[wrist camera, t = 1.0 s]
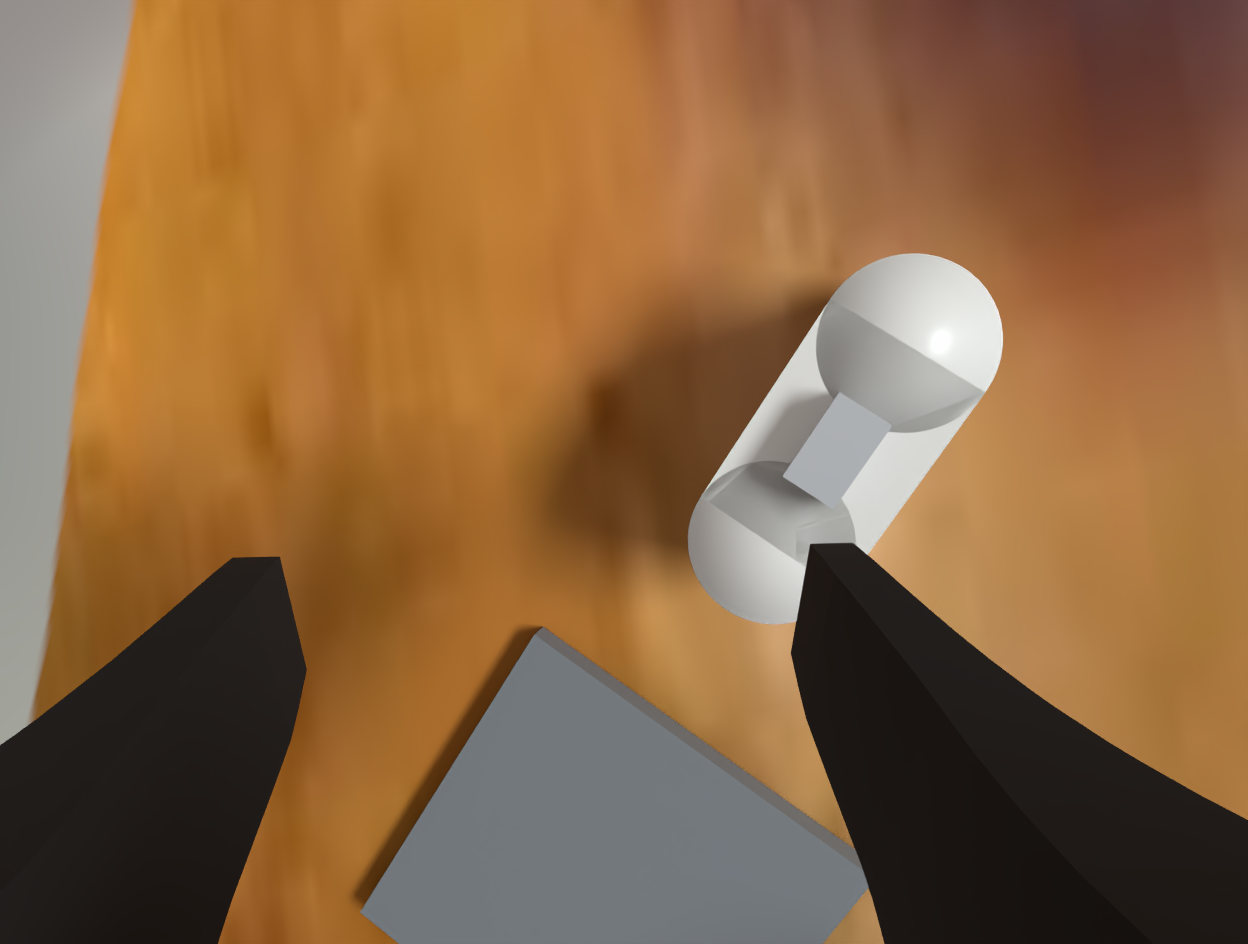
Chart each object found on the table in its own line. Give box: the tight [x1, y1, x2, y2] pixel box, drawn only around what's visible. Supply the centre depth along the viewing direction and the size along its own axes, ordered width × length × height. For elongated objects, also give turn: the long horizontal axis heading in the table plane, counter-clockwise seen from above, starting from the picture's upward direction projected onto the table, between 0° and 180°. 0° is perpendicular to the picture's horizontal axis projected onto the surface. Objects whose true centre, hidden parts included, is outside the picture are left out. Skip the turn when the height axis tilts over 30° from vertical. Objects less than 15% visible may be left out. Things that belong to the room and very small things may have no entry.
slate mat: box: [360, 627, 868, 944], centre depth 26 cm, size 12×12×1 cm
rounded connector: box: [688, 254, 1003, 624], centre depth 20 cm, size 4×9×7 cm, turn 148°
